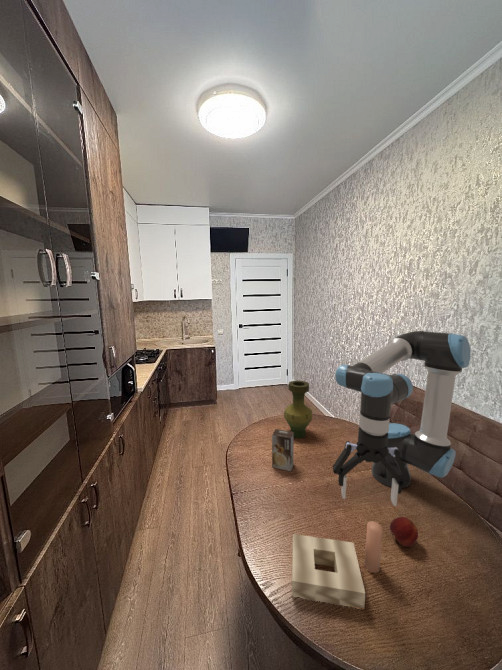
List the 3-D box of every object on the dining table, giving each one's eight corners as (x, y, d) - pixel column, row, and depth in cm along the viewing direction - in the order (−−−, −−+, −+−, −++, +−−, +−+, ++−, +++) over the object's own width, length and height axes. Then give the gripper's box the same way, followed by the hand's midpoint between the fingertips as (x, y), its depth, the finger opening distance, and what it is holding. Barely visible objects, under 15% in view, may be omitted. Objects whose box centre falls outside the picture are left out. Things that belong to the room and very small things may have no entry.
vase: (282, 426, 161) (283, 379, 157) (309, 427, 161) (310, 379, 156) (284, 441, 145) (285, 388, 141) (314, 442, 144) (316, 388, 140)
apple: (416, 557, 81) (419, 534, 80) (388, 544, 85) (389, 522, 84) (416, 538, 87) (419, 516, 86) (390, 527, 91) (392, 506, 90)
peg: (377, 560, 80) (380, 522, 78) (381, 574, 76) (384, 534, 74) (362, 558, 80) (365, 520, 79) (366, 572, 77) (369, 532, 75)
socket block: (352, 557, 81) (353, 542, 80) (364, 610, 67) (365, 593, 67) (292, 547, 84) (292, 533, 83) (291, 597, 70) (292, 580, 69)
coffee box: (294, 463, 126) (294, 431, 124) (290, 471, 120) (291, 438, 118) (275, 459, 129) (275, 428, 127) (271, 467, 123) (271, 434, 121)
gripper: (417, 427, 75) (410, 495, 78) (325, 419, 80) (322, 483, 83) (429, 441, 68) (421, 516, 71) (328, 431, 73) (324, 501, 76)
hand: (367, 498), depth 77 cm, fingers open, 13 cm apart
